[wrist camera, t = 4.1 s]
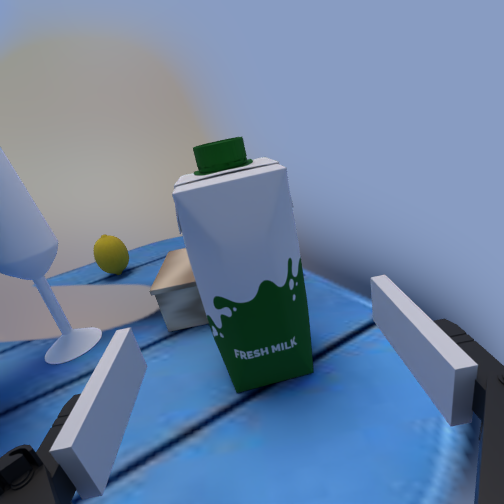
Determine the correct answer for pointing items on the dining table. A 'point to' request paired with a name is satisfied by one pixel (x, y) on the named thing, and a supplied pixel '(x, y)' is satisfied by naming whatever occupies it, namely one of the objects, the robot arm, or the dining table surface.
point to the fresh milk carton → (246, 262)
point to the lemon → (111, 254)
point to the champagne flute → (35, 259)
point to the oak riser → (178, 293)
